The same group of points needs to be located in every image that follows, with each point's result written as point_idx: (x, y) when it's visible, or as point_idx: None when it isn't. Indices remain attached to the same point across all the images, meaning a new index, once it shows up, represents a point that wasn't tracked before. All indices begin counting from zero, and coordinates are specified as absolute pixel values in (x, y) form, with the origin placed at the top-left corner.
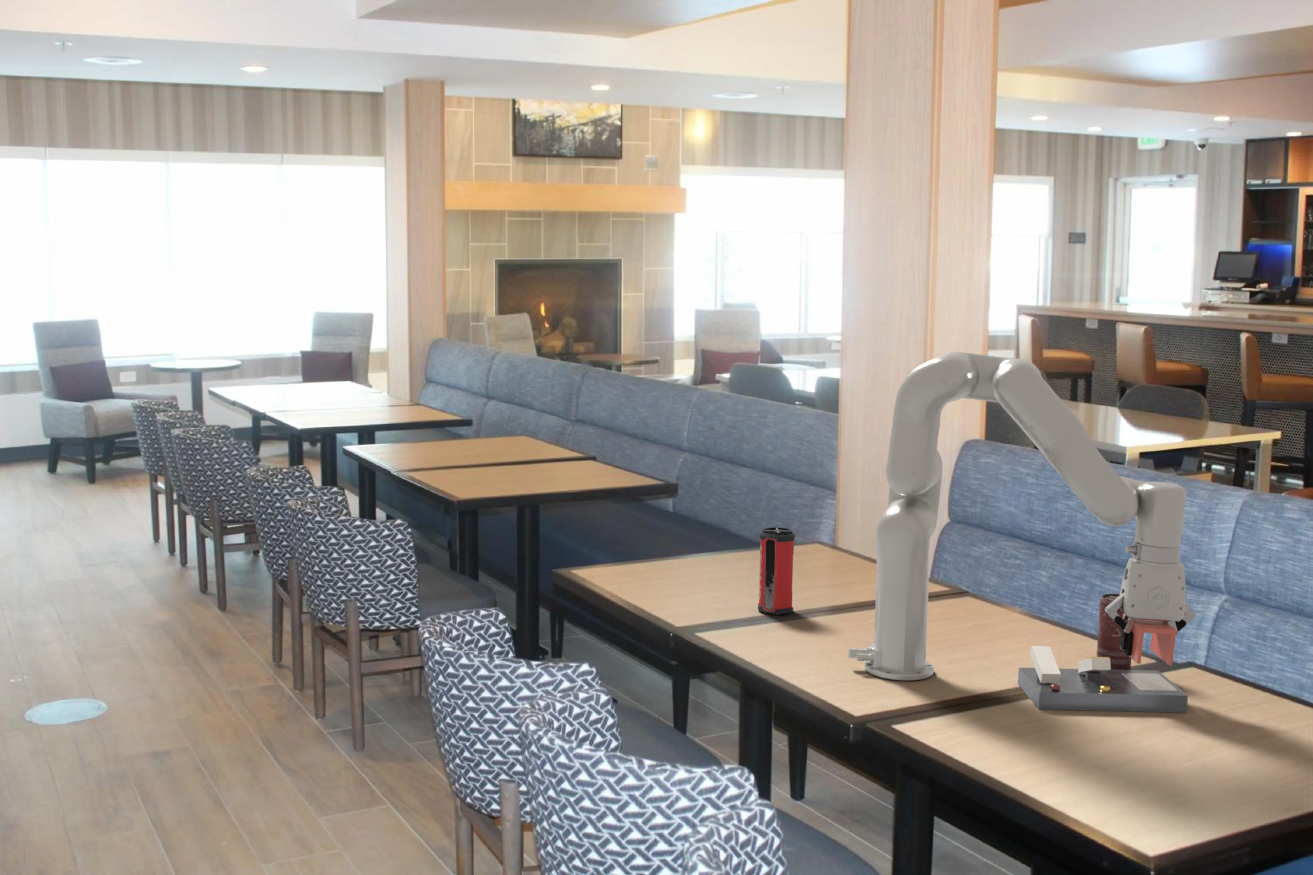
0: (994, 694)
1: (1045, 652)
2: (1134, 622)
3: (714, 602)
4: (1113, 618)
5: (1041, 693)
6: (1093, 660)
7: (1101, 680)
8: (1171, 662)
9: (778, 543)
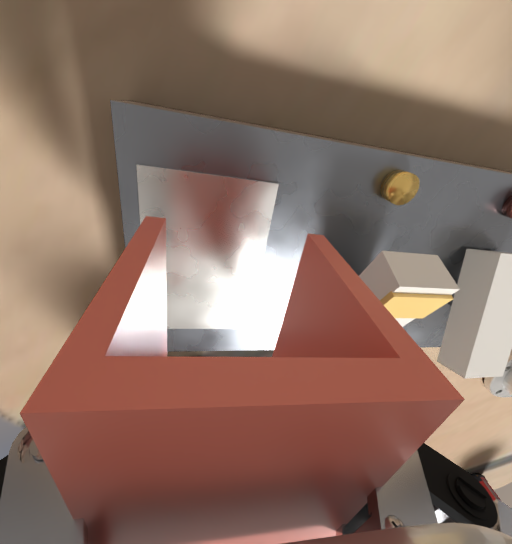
0: None
1: (487, 350)
2: (382, 488)
3: (491, 484)
4: (496, 503)
5: None
6: (448, 280)
7: None
8: (148, 223)
9: None
